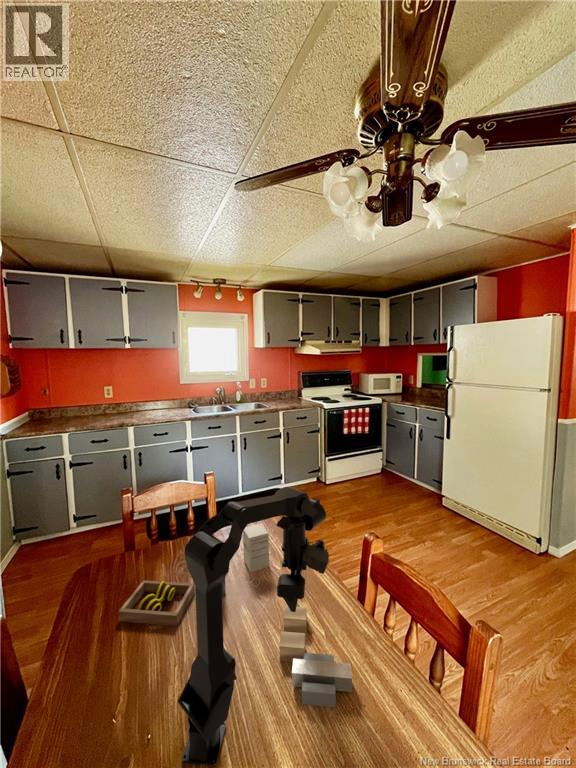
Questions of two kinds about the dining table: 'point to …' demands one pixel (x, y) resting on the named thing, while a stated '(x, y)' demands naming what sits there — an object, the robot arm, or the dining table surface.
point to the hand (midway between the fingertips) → (295, 596)
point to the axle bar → (322, 673)
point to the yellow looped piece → (157, 598)
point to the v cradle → (318, 686)
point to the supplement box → (256, 547)
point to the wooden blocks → (293, 634)
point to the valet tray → (156, 616)
